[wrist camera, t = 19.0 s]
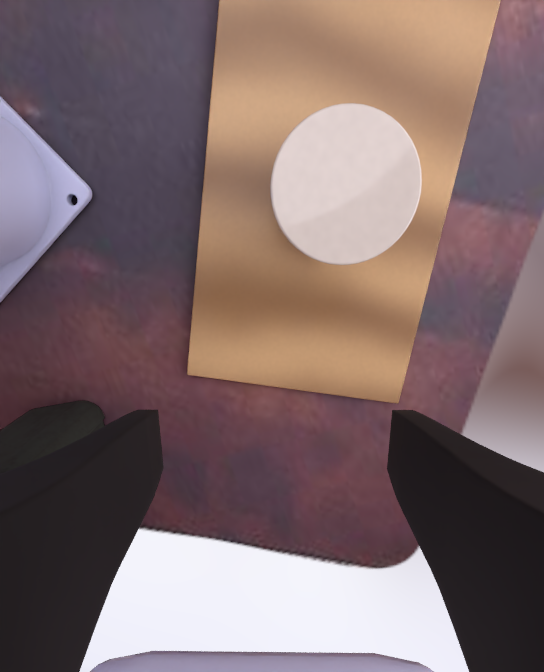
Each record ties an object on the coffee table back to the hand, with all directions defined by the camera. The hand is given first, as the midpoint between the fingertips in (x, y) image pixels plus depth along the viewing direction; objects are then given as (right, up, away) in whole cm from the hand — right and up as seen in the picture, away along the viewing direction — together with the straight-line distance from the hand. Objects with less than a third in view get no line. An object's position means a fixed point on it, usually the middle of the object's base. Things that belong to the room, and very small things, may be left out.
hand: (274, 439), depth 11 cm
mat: (+2, +10, +7) cm, 12 cm away
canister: (+2, +10, +7) cm, 12 cm away
